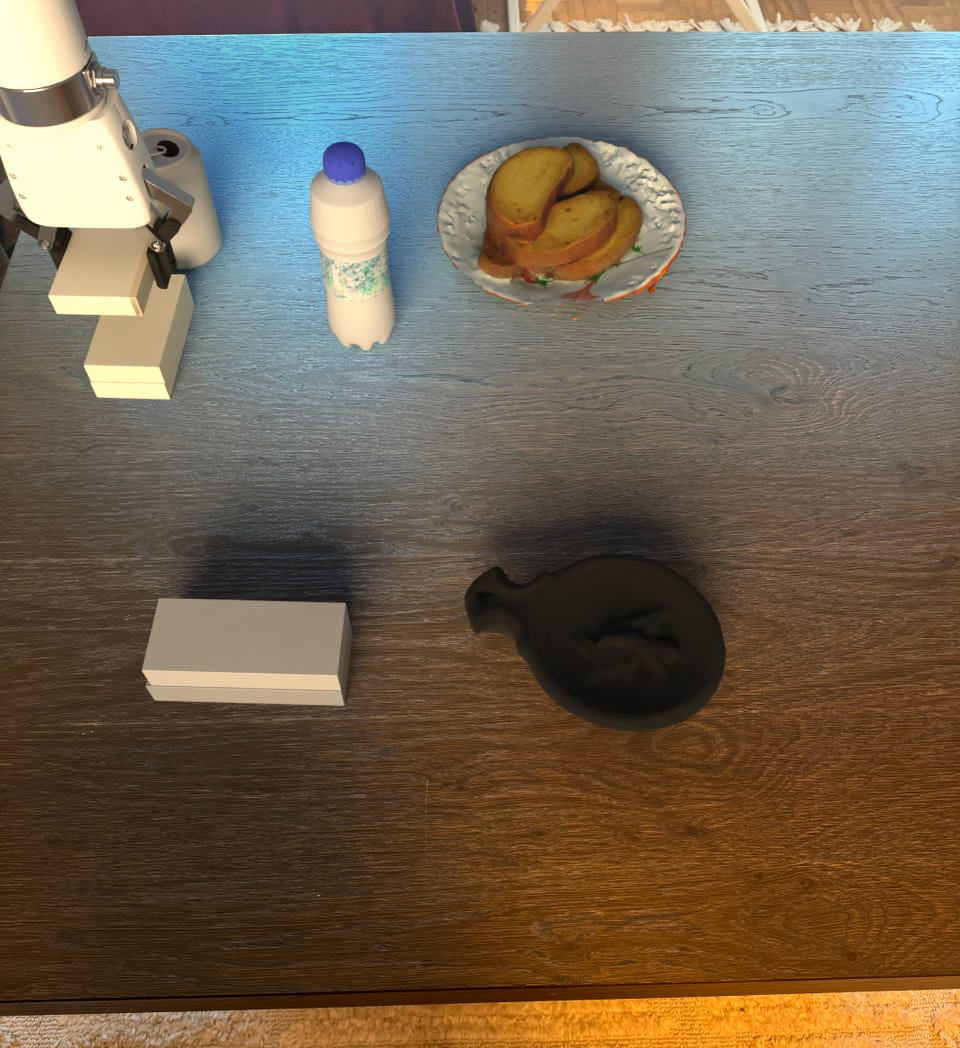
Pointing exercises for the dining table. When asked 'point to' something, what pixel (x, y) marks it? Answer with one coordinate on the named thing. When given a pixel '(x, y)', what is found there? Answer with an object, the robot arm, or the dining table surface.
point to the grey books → (249, 652)
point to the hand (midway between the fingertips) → (121, 275)
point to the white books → (142, 346)
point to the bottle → (353, 246)
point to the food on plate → (562, 222)
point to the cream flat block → (104, 272)
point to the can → (188, 173)
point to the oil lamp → (609, 638)
